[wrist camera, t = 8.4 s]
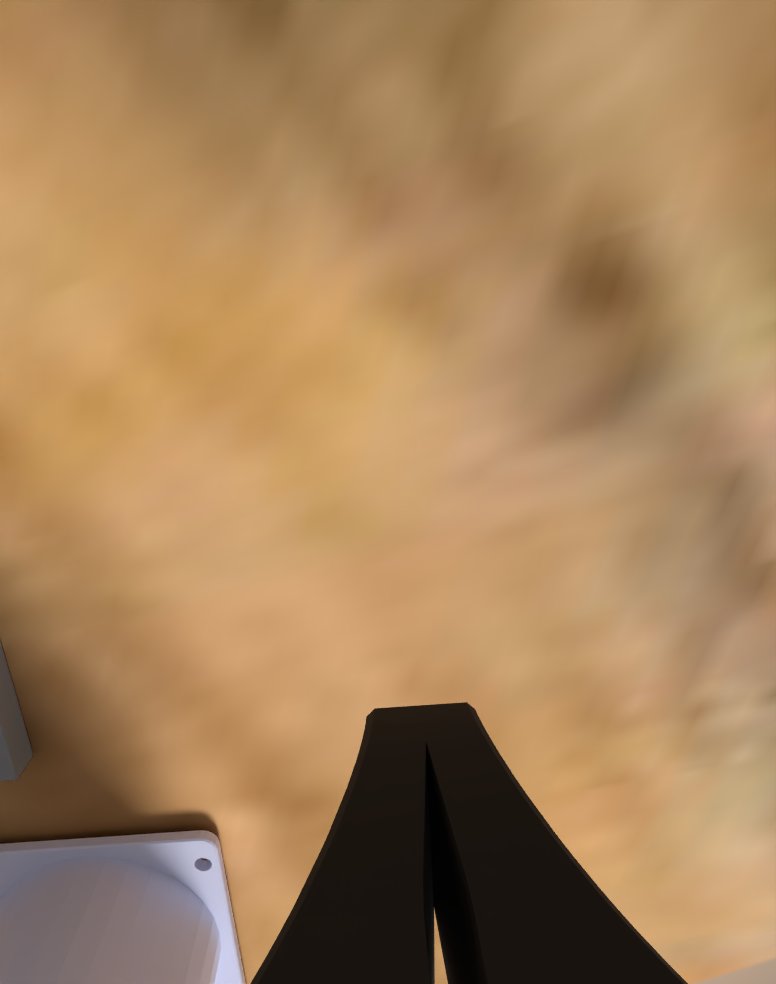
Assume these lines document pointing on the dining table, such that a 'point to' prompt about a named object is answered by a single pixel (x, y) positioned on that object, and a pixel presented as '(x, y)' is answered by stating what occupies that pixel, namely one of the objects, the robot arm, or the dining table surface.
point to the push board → (11, 729)
